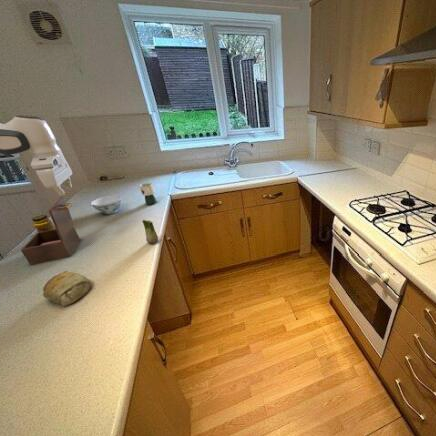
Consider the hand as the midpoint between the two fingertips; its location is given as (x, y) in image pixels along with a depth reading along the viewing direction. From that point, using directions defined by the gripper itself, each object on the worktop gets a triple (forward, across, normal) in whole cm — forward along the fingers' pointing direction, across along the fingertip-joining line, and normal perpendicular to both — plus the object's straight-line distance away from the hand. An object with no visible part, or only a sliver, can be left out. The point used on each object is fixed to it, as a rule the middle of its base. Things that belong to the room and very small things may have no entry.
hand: (66, 191), depth 102 cm
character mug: (+28, -42, +24) cm, 56 cm away
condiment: (+27, -17, -20) cm, 38 cm away
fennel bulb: (+28, +11, +27) cm, 40 cm away
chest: (+27, 0, -13) cm, 30 cm away
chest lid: (+12, 0, -6) cm, 13 cm away
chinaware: (+28, -39, +2) cm, 48 cm away
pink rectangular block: (+26, 0, -14) cm, 30 cm away
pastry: (+28, +36, +1) cm, 45 cm away
